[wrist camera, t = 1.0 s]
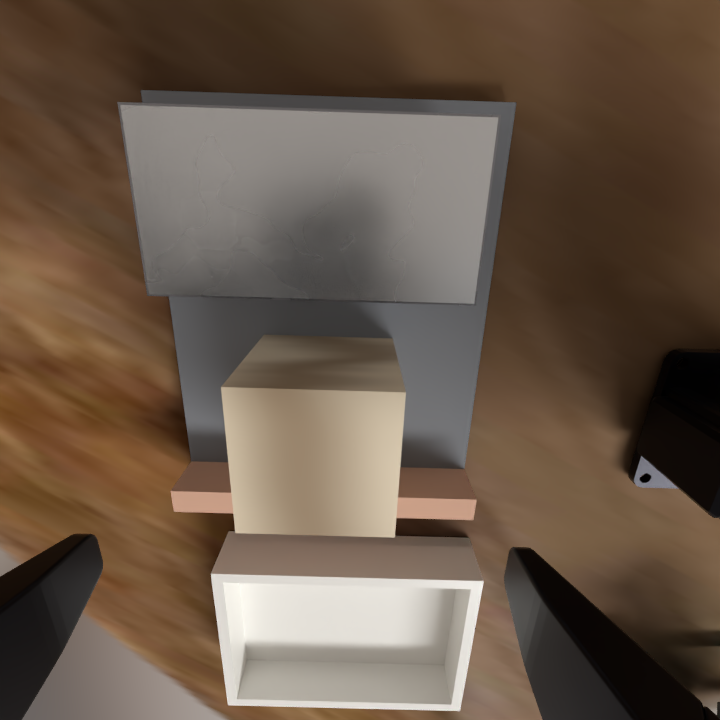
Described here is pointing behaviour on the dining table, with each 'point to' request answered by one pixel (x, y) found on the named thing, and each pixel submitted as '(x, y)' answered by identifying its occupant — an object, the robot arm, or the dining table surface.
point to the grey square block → (310, 202)
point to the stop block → (315, 436)
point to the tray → (346, 620)
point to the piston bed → (345, 319)
